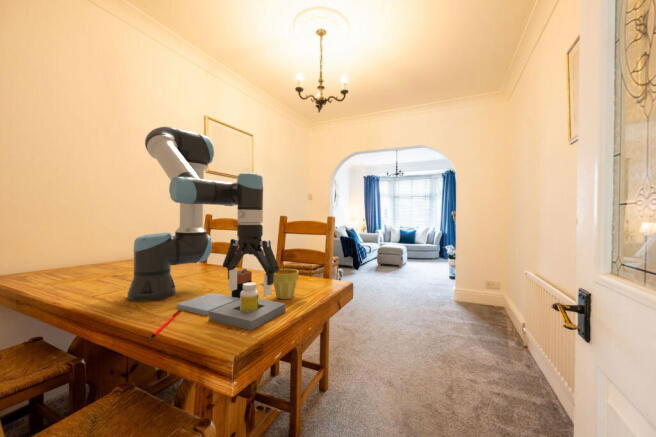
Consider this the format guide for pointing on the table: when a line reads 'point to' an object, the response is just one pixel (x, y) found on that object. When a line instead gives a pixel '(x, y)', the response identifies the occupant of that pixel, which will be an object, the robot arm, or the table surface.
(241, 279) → the battery
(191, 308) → the blue-grey tile
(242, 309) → the supplement bottle
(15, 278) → the table surface
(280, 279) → the plant pot
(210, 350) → the table surface
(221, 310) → the pocket holder
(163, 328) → the pen
